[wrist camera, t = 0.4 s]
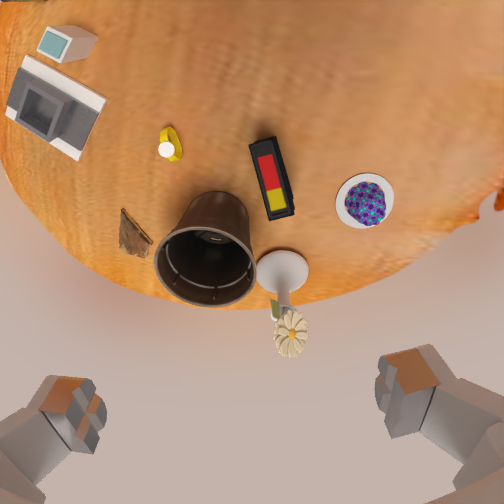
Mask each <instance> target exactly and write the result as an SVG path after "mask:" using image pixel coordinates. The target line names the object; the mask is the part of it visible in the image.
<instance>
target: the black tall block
mask: <svg viewBox="0 0 504 504" xmlns="http://www.w3.org/2000/svg"><path fill="white" fill-rule="evenodd" d="M249 149H250V152H251V156H252V159H253V163H254V167H255V170H256V174H257V178H258V181H259V185H260V189H261V193H262V196H263V200H264V204H265V208H266V211H267V215H268V219H269V221H272V220H276V219H280V218H284V217H288V216H292V215H294V210H295V207H294V203H293V200H292V199H294V198H293V194H292V190H291V187H290V183H289V180H288V176H287V173H286V169H285V166H284V162H283V159H282V155H281V152H280V149H279V145H278V142H277V139H276V136H274V137H270V138H266V139H263V140H259V141H256V142H254V143H253V144H250V145H249Z"/></svg>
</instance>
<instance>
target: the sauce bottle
mask: <svg viewBox="0 0 504 504" xmlns="http://www.w3.org/2000/svg"><path fill="white" fill-rule="evenodd" d="M1 1H3V2H42V1H46V0H1Z"/></svg>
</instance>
